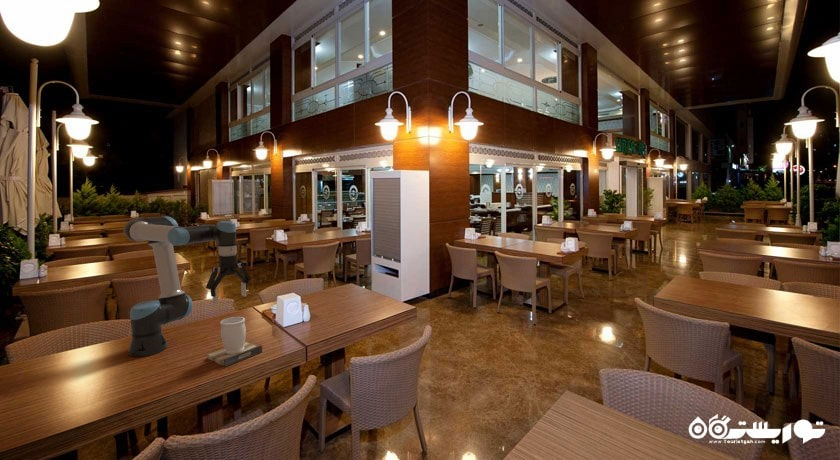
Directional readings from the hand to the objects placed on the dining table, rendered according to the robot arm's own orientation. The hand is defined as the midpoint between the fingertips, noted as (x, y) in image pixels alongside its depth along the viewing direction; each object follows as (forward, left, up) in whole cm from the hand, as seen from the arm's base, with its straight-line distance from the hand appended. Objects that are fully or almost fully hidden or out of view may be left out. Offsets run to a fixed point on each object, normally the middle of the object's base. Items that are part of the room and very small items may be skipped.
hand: (230, 299), depth 173 cm
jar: (+1, 0, -25) cm, 25 cm away
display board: (+1, 0, -27) cm, 27 cm away
